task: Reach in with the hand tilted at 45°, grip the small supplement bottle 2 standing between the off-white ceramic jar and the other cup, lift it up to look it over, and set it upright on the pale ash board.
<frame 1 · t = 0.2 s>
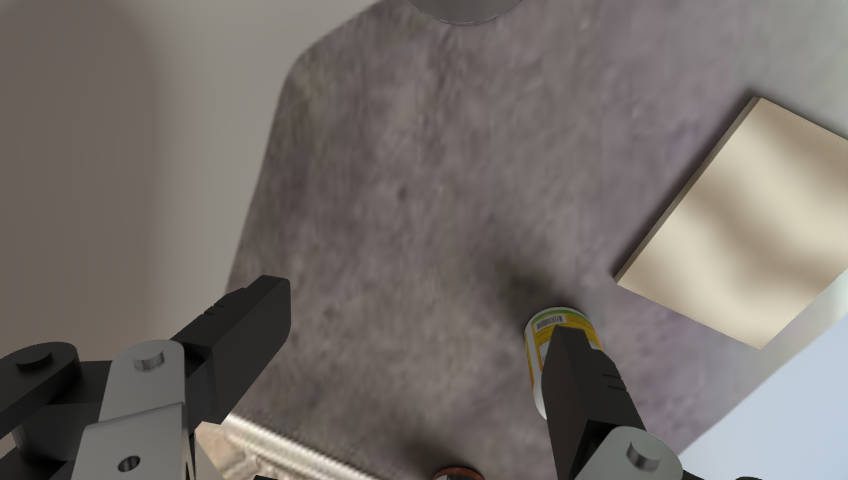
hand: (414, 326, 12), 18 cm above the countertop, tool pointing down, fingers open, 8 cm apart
supplement bottle 2: (557, 331, 32), on the countertop
ash board: (753, 234, 27), on the countertop
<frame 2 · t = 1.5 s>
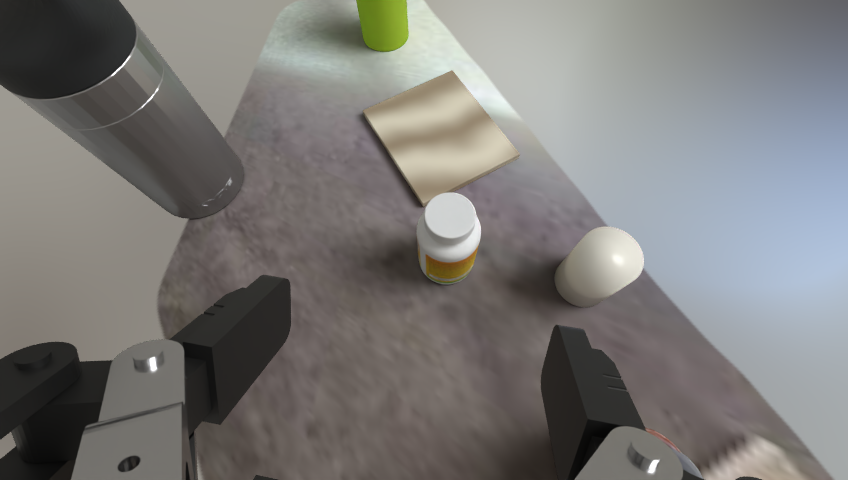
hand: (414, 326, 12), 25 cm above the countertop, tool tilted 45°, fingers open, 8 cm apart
soap dispenser: (382, 34, 52), on the countertop
supplement bottle 2: (446, 260, 39), on the countertop
ash board: (438, 136, 45), on the countertop
supplement bottle: (591, 462, 32), on the countertop
ceramic jar: (581, 281, 38), on the countertop
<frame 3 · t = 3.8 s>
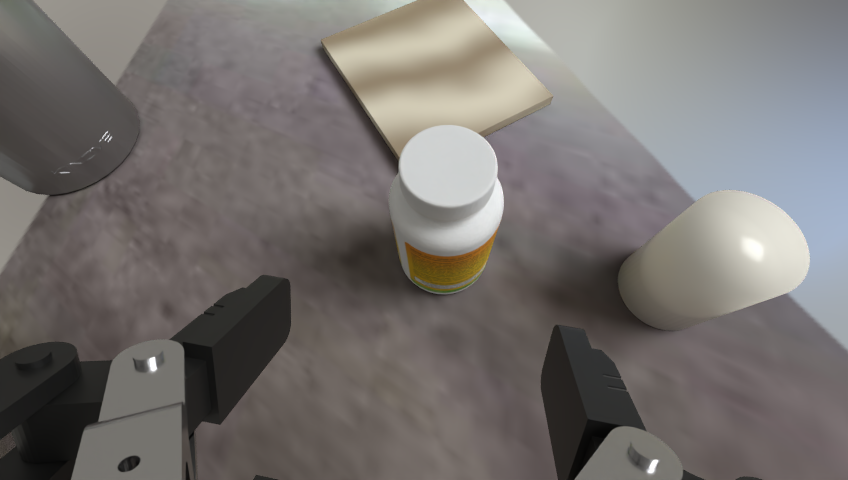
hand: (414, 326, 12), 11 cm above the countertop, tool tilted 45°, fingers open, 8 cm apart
supplement bottle 2: (443, 255, 25), on the countertop
ash board: (431, 74, 31), on the countertop
ceramic jar: (661, 288, 24), on the countertop
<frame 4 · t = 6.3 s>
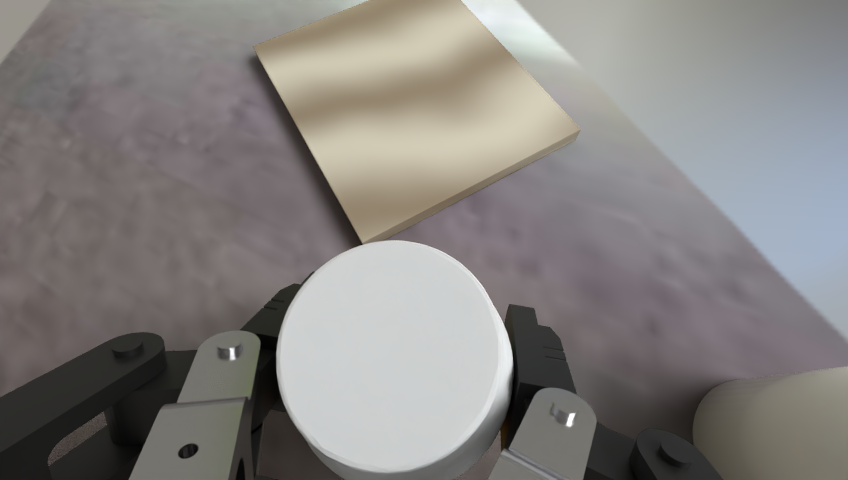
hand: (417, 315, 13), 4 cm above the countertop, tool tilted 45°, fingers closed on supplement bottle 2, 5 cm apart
supplement bottle 2: (414, 385, 16), on the countertop, touching gripper
ash board: (406, 96, 22), on the countertop
ceramic jar: (764, 451, 15), on the countertop
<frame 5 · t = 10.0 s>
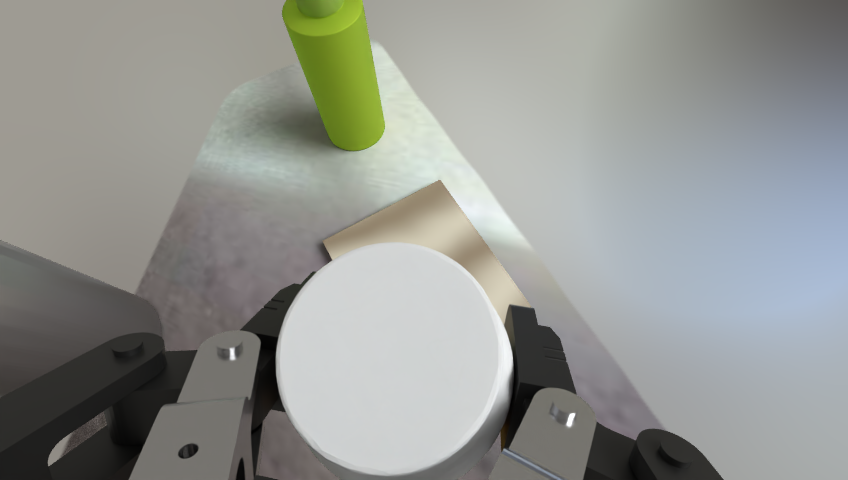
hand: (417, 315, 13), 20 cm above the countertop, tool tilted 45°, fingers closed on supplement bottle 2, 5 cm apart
soap dispenser: (352, 126, 41), on the countertop
supplement bottle 2: (414, 386, 16), point 15 cm above the countertop, touching gripper
ash board: (422, 275, 34), on the countertop
when the fingers open (6 cm above the countertop, at t = 13.9 s): supplement bottle 2 drops 1 cm, resting on ash board.
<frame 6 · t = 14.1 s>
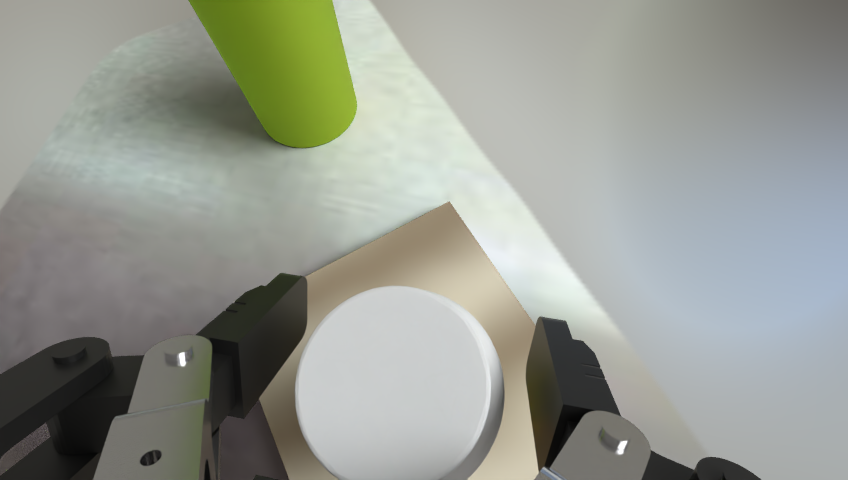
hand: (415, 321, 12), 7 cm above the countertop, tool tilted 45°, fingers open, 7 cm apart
soap dispenser: (304, 107, 25), on the countertop
supplement bottle 2: (417, 394, 17), point 1 cm above the countertop, touching ash board
ash board: (415, 388, 18), on the countertop
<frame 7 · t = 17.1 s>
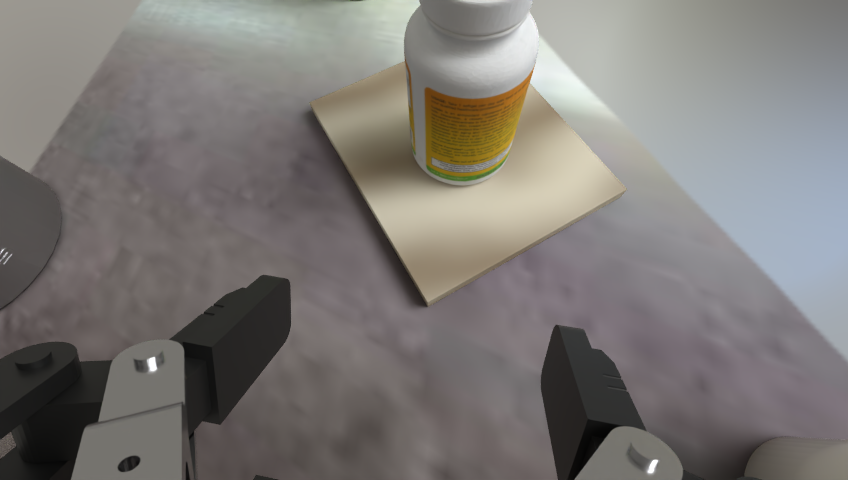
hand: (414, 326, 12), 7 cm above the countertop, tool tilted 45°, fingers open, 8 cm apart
supplement bottle 2: (459, 149, 22), point 1 cm above the countertop, touching ash board
ash board: (457, 151, 23), on the countertop
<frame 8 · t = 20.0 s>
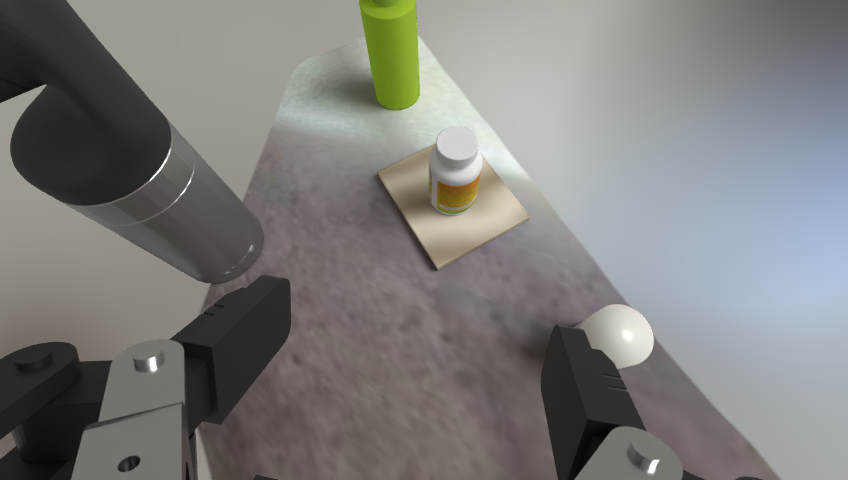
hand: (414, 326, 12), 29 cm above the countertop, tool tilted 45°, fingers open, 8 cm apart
soap dispenser: (394, 92, 54), on the countertop
supplement bottle 2: (452, 196, 46), point 1 cm above the countertop, touching ash board
ash board: (451, 197, 47), on the countertop
ceramic jar: (591, 347, 39), on the countertop
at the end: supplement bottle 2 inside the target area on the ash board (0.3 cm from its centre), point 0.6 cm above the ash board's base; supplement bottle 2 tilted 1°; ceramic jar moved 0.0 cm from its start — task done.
